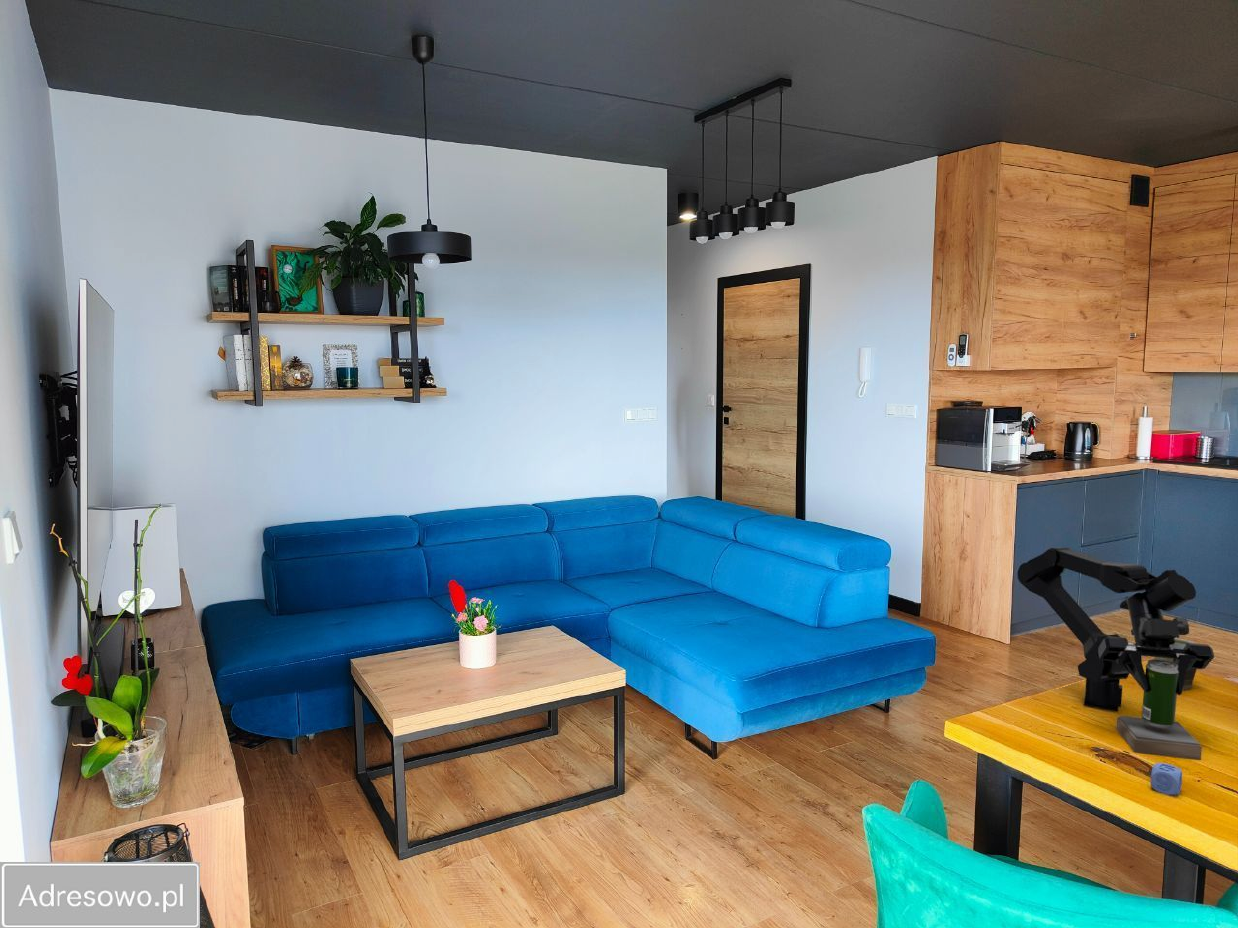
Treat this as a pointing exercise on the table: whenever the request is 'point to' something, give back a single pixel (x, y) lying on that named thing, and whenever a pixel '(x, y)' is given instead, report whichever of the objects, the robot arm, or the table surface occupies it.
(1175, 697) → the beer can
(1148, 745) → the gray plinth
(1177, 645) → the ceramic cup
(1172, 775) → the decorative dice
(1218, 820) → the table surface
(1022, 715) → the table surface
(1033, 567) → the robot arm
